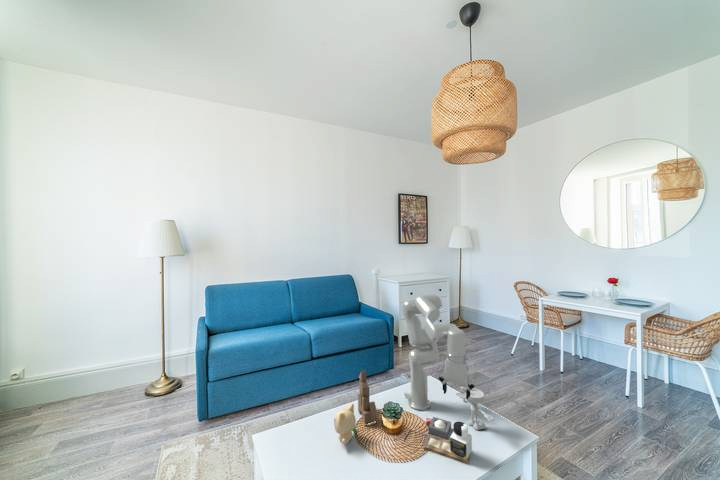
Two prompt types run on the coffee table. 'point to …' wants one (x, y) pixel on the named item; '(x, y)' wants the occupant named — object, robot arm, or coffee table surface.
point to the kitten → (345, 424)
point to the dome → (440, 424)
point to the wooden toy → (365, 401)
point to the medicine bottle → (461, 441)
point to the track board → (443, 448)
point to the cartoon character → (475, 407)
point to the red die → (428, 421)
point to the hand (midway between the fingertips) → (456, 394)
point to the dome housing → (438, 431)
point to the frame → (426, 440)
